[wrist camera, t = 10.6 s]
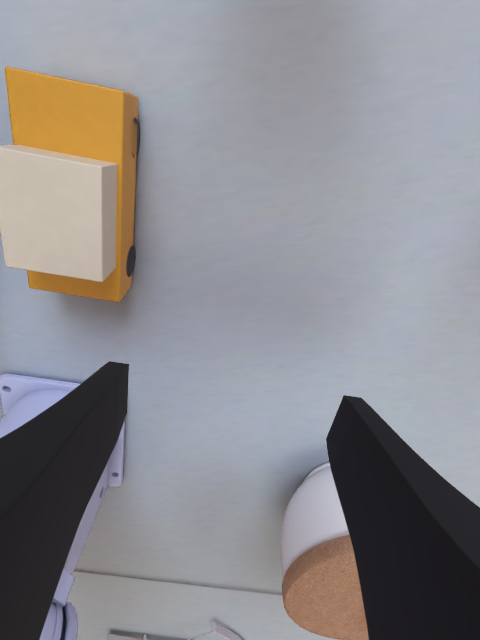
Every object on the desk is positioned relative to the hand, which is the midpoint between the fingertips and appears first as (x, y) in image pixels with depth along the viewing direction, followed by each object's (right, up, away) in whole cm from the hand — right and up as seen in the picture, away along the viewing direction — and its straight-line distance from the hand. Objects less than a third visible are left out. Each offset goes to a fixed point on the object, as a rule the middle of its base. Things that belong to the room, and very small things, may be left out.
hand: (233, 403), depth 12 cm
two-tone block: (-7, +9, +6) cm, 13 cm away
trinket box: (+8, -10, +16) cm, 21 cm away
